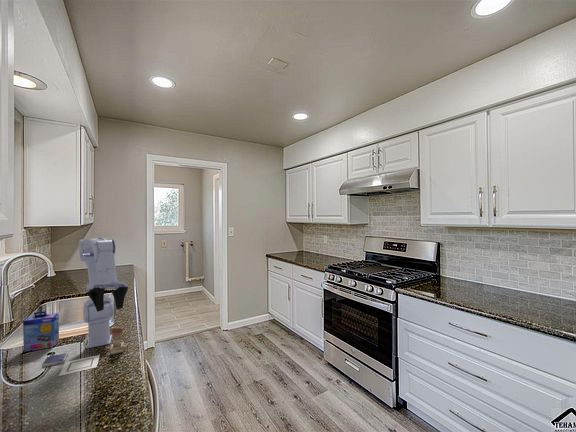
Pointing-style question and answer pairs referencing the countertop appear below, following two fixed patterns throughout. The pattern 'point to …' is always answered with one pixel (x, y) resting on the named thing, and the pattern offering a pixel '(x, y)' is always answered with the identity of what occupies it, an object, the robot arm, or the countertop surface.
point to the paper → (80, 365)
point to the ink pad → (55, 360)
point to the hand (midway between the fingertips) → (110, 309)
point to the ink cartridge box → (40, 331)
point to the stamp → (117, 341)
